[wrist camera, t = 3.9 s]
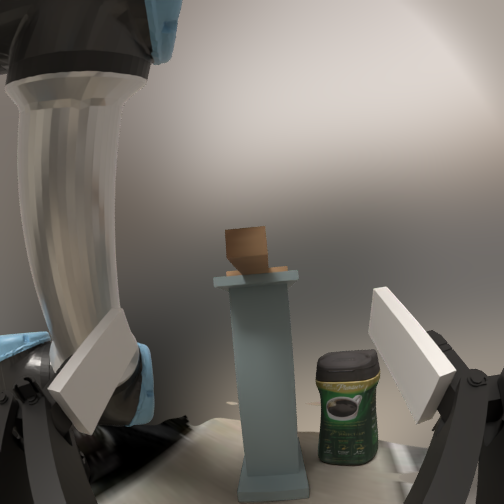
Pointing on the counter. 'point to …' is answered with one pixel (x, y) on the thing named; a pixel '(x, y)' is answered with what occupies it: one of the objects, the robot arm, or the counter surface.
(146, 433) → the counter surface
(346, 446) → the coffee jar
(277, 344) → the stand
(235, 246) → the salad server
